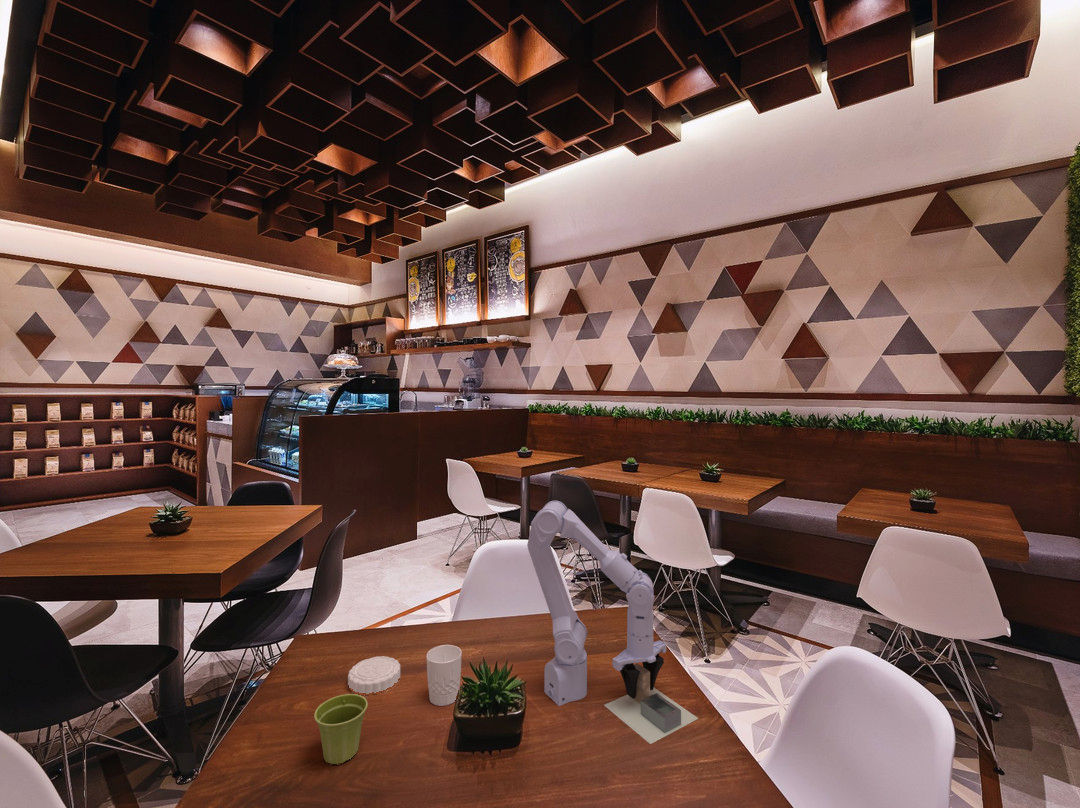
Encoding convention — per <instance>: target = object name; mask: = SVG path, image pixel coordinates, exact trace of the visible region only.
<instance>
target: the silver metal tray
mask: <svg viewBox="0 0 1080 808" xmlns="http://www.w3.org/2000/svg"><path fill="white" fill-rule="evenodd" d="M641 715H642V716H643V717H645V718H646V719H647V720H648V721H650V722H651V723H652V724H653V725H655V726H656V727H657V728H659V729H660V730H661V731H662V732H664V733H666V732H668V731H670V730H672V729H674V728H676V727H678V726H680V725H681V710H680V709H679V708H677V707H676V706H675V705H673V704H672V703H670V702H669V701H667V700H666V699H665V698H663V697H662V696H660V695H659V694H657V693H656V694H653V695H651V696H649V697H647V698H645V699H643V700H641Z"/></svg>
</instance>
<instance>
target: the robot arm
mask: <svg viewBox="0 0 1080 808" xmlns="http://www.w3.org/2000/svg"><path fill="white" fill-rule="evenodd" d="M559 533H560V534H559ZM558 534H559V538H562V539H574V540H575V541H576V542H577V543H578V544H579V545H580V546H581V547H582V548H584V550H586V551H587V552H588V553H589V554H591V555H592V557H594V558H595V559H596V560H597V561H598V562H599V567H600V571H601V572H603V574H604V575H605V576H606V577H607V578H608V579H610V581H611V582H612V583H613V584H614V585H615V586H617V587H618V588H619V589H620V590H621V591H622V592H625V597H626V601H627V602H628V607H627V610H626V612H627V613H626V614H627V615H626V618H627V619H626V620H627V621H626V623H627V625H626V627H627V629H626V630H627V631H626V632H627V633H626V634H627V635H626V641H627V643H626V644H627V645H626V648H625V649H624V650H623V651H621V652H620V653H619V654H618V655H617V656H615V657H613V658H612V668H614V669H615V670H616V671H618V672H619V673H620V675H621V677H622V680H623V683H624V687H625V691H626V695H629V696H630V697H631V698H632V699H634V698H636V691H637V680H638V677H639V674H640V671H639V670H637V669H636V668H635V666H634V664H637V663H638V664H639V663H642V667H644V668H645V669H647V670H648V671H650V690H651V691H652V690H653V689H654V688H655V684H656V681H657V677H658V676H659V675H658V674H659V672H660V670H661V668H662V666H663V665H664V664H665V663H664V662H665V658H663V657H662V656H660V654H661V653H662V654H665V653H666V652H667V643H666V642H664V641H662V640H656V641H654V610H653V609H654V601H655V595H654V584H653V581H652V579H651V577H650V576H649V575H648V574H647V573H645V572H644V571H642V570H641V569H639V570H638V569H637V568H636V567H635V566H634V565H633V564H632V563H631V562H630V561H629V560H628V559H627V558H628V555H626V554H625V553H624V552H622V553H621V552H619V550H611V549H609V548H608V547H607V546H606V545H605V544H604V543H603V542H602V541H601V540H600V539H599V538H598V537H597V536H596V535H595V534H594V533H593V532H592V530H590V529H589V527H588V526H586V524H585V523H584V522H583V521H582V520H581V519H580V518H579V517H578V516H577V515H576V513H575V512H574V511H572V510H571V509H570V508H568V507H567V506H566V504H564V503H563V502H562V501H559V500H551V501H549V502H547V503H545V505H544V506H543V507H542V509H540V510H539V511H538V512H537V513H536V514H535V516H534V518H533V519H532V521H531V522H530V530H529V536H528V540H527V545H526V546H527V550H528V554H529V556H530V558H531V562H532V563H533V564H532V565H533V567H534V570H535V573H536V576H537V578H538V581H539V582H538V583H539V585H540V587H541V590H542V594H543V597H544V599H545V603H546V605H547V608H548V611H549V614H550V616H551V620H552V637H553V639H554V647H553V648H554V654H555V656H554V657H553V658H552V659H551V660H550V661H548V662H547V663H546V664H544V676H543V678H544V681H543V682H544V688H543V689H544V691H543V692H544V693H545V695H547V696H548V697H549V698H550V699H551V700H552V701H553V702H554V703H555V704H556V705H557V706H558V707H560V706H563V705H565V704H567V703H570V702H574V701H579V700H582V699H584V698H585V697H586V696H587V694H588V686H587V685H588V655H587V654H588V653H587V651H586V650H585V647H584V646H585V643H586V640H587V637H588V630H587V627H586V625H585V624H584V623H583V622H582V621H581V620H580V618H579V616H578V613H577V612H576V610H574V609H573V607H572V604H571V602H570V601H571V600H570V599H569V596H568V593H567V590H566V587H565V584H564V581H563V578H562V576H561V573H560V570H559V567H558V563H557V561H556V558H555V555H554V553H553V550H552V546H551V544H552V542H553V540H554V538H555V536H557V535H558Z"/></svg>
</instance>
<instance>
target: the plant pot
mask: <svg viewBox="0 0 1080 808" xmlns="http://www.w3.org/2000/svg"><path fill="white" fill-rule="evenodd" d="M367 708H368V700H367V698H366V697H365V696H361V695H358V694H353V693H345V694H341V695H336V696H334V697H330V698H329V699H327V700H325V701H324V702H323V703H321V704H319V705H318V707H317V708H316V710H315V712H314V716H313V717H314V720H315V722H316V724H317V727H318V728H319V735H320V741H321V747H322V755H323V759H324V760H325V762H326V763H327V762H328V763H332V764H337V765H339V764H338V763H342V764H343V763H345V762H346V761H350V760H352V759H353V758H354V757H355V756H356V755H357V754H356V752H357V751H359V748H360V746H359V745H360V739H361V731H362V727H363V726H362V725H363V720H364V716H365V714H366V713H365V712H366V711H367ZM357 753H358V752H357ZM355 754H356V755H355ZM354 755H355V756H354ZM353 756H354V757H353ZM352 757H353V758H352ZM351 758H352V759H351ZM349 759H350V760H349ZM328 763H327V764H328ZM332 764H331V765H332Z"/></svg>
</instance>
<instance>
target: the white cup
mask: <svg viewBox="0 0 1080 808" xmlns="http://www.w3.org/2000/svg"><path fill="white" fill-rule="evenodd" d="M462 655H463V652H462V649H461V648H460V647H459V646H456V645H453V644H441V645H437V646H434V647H432V648H430V649H429V650H428V651H427V653H426V674H427V676H426V677H427V687H428V699H429V702H430V703H431V704H433V705H434V706H438V707H442V706H443V707H444V706H449V705H451V704H454V703H455V702H456V701H457V700H456V696H457V693H458V690H459V691H460V686H461V675H462ZM455 700H456V701H455Z"/></svg>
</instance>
